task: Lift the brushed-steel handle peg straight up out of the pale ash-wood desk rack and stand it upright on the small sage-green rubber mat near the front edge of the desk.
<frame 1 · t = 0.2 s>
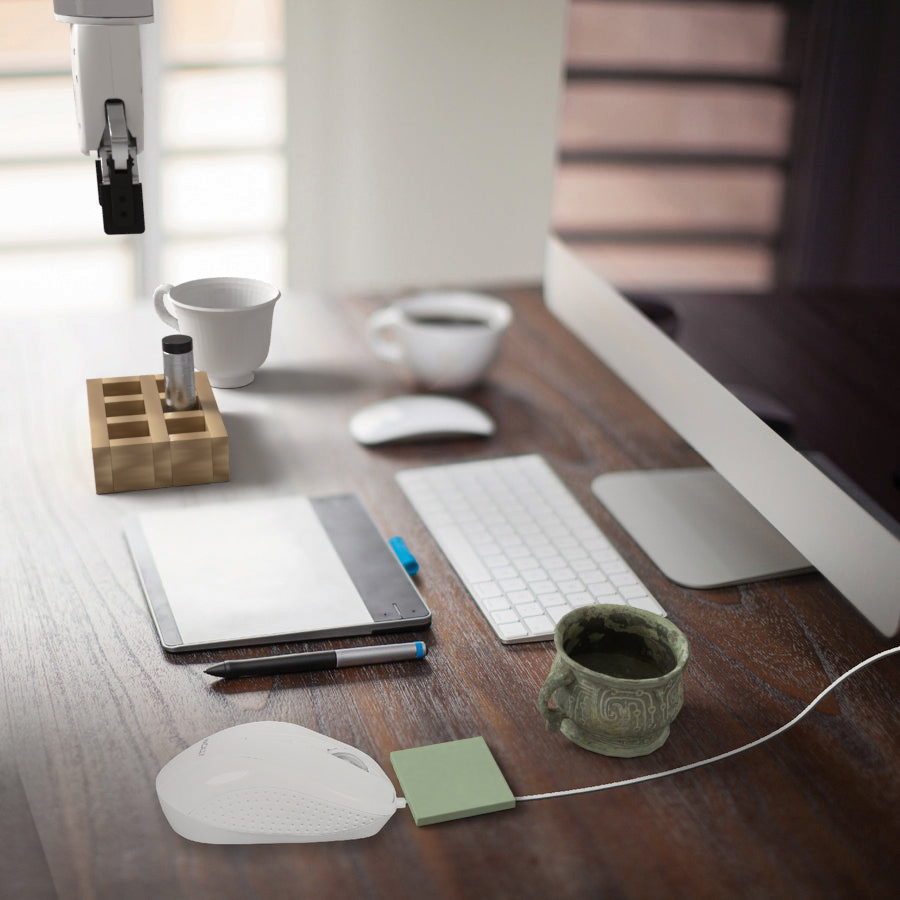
hand: (121, 219, 96), 23 cm above the table, tool pointing down, fingers open, 9 cm apart
steel peg: (183, 447, 110), resting in desk rack
desk rack: (156, 449, 109), on the table
teacup: (216, 378, 127), on the table
vessel: (611, 722, 75), on the table
mat: (451, 783, 68), on the table
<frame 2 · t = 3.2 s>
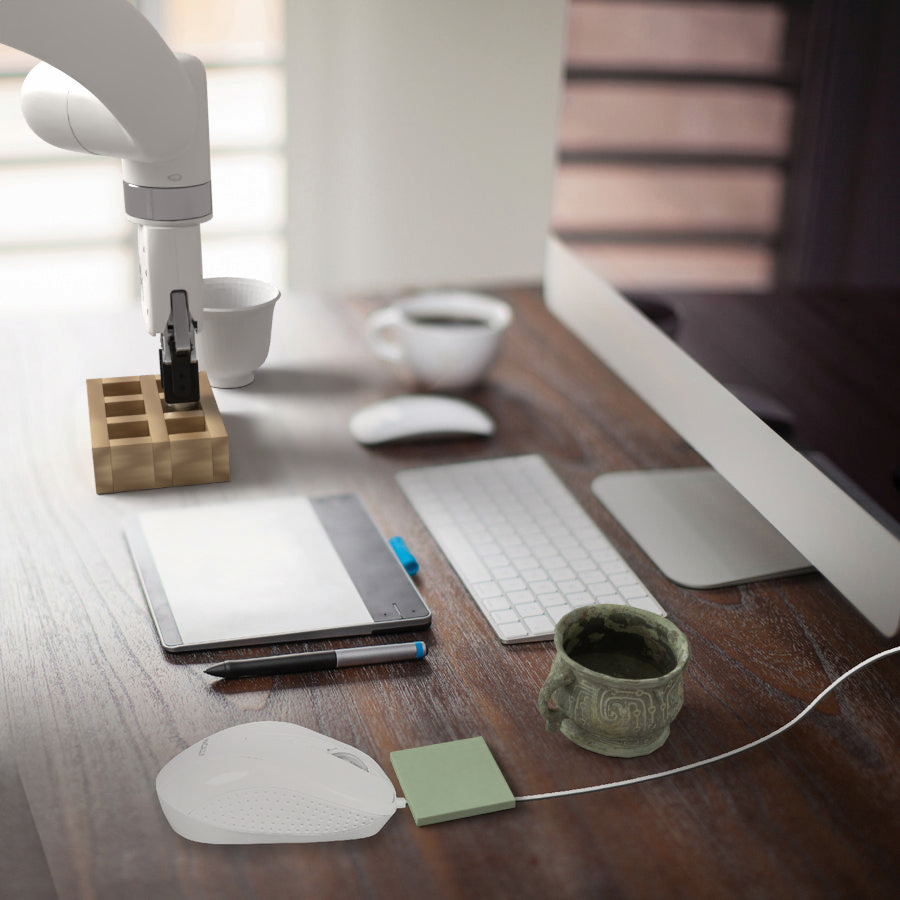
hand: (180, 393, 108), 6 cm above the table, tool pointing down, fingers closed on steel peg, 2 cm apart
steel peg: (183, 447, 110), resting in desk rack, touching gripper
everything else where it was.
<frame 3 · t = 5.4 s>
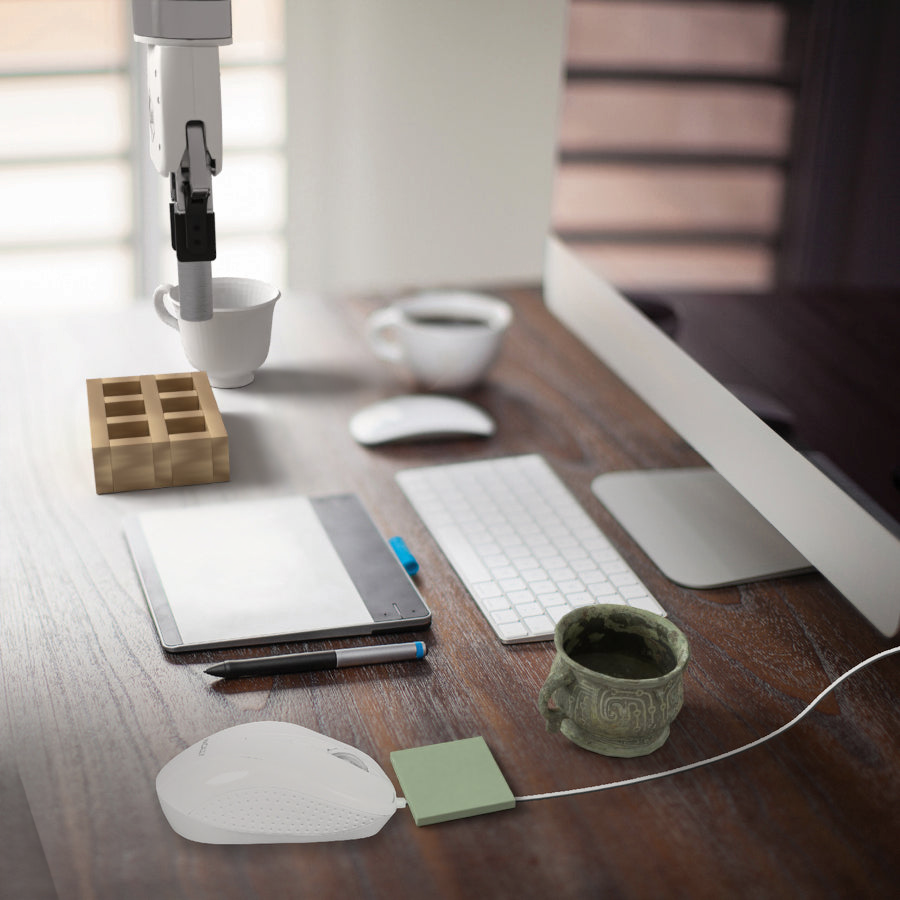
hand: (193, 253, 96), 21 cm above the table, tool pointing down, fingers closed on steel peg, 2 cm apart
steel peg: (196, 317, 98), point 15 cm above the table, touching gripper
everything else where it was.
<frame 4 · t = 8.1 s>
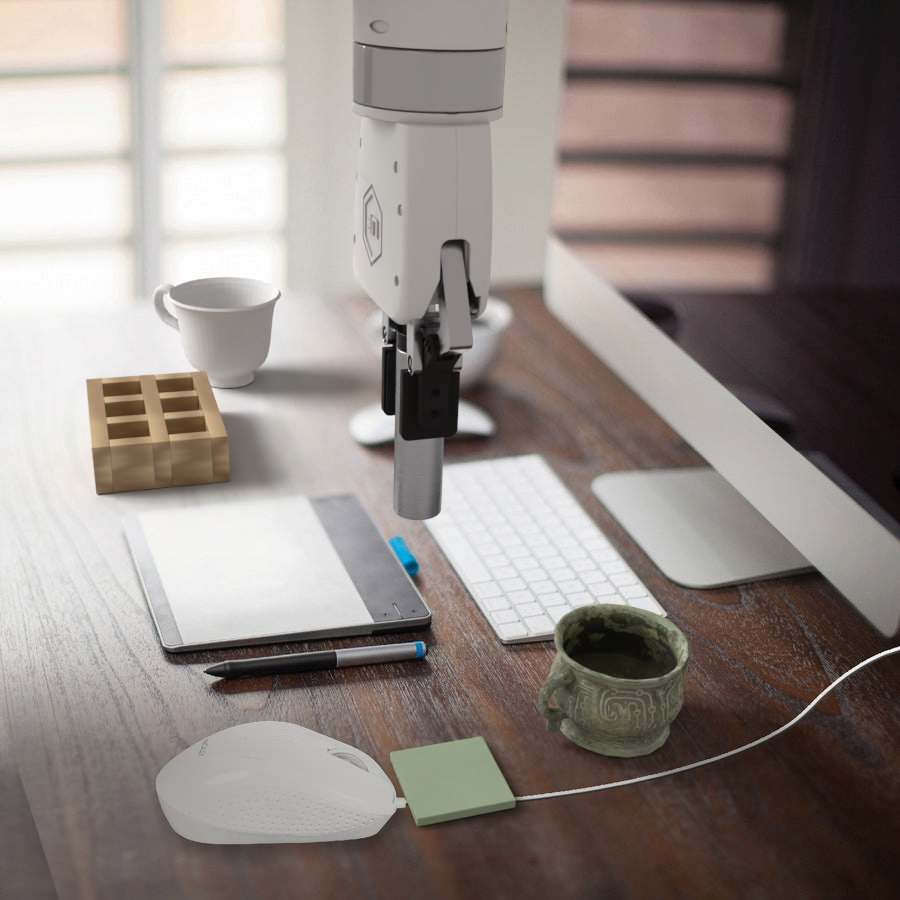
hand: (418, 421, 64), 21 cm above the table, tool pointing down, fingers closed on steel peg, 2 cm apart
steel peg: (417, 509, 66), point 16 cm above the table, touching gripper
everything else where it was.
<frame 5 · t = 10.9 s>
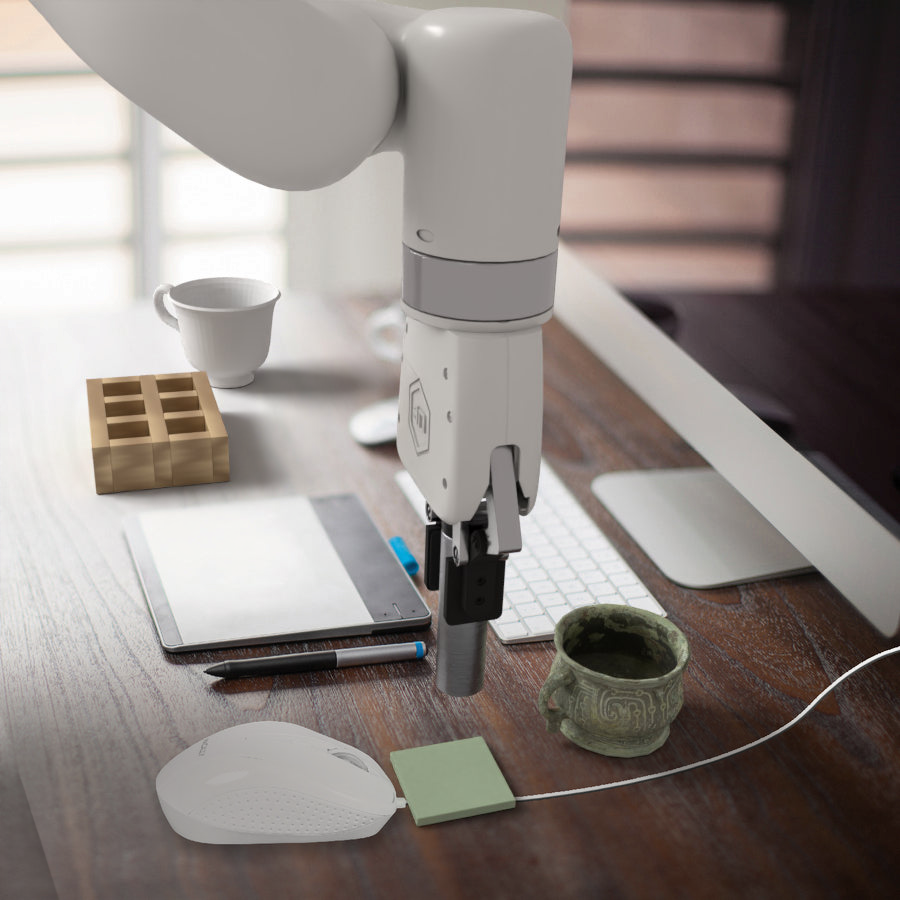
hand: (462, 599, 63), 13 cm above the table, tool pointing down, fingers closed on steel peg, 2 cm apart
steel peg: (459, 682, 65), point 7 cm above the table, touching gripper
everything else where it was.
when the fingers open (6 cm above the table, at t = 13.0 s): steel peg stays where it is, resting on mat.
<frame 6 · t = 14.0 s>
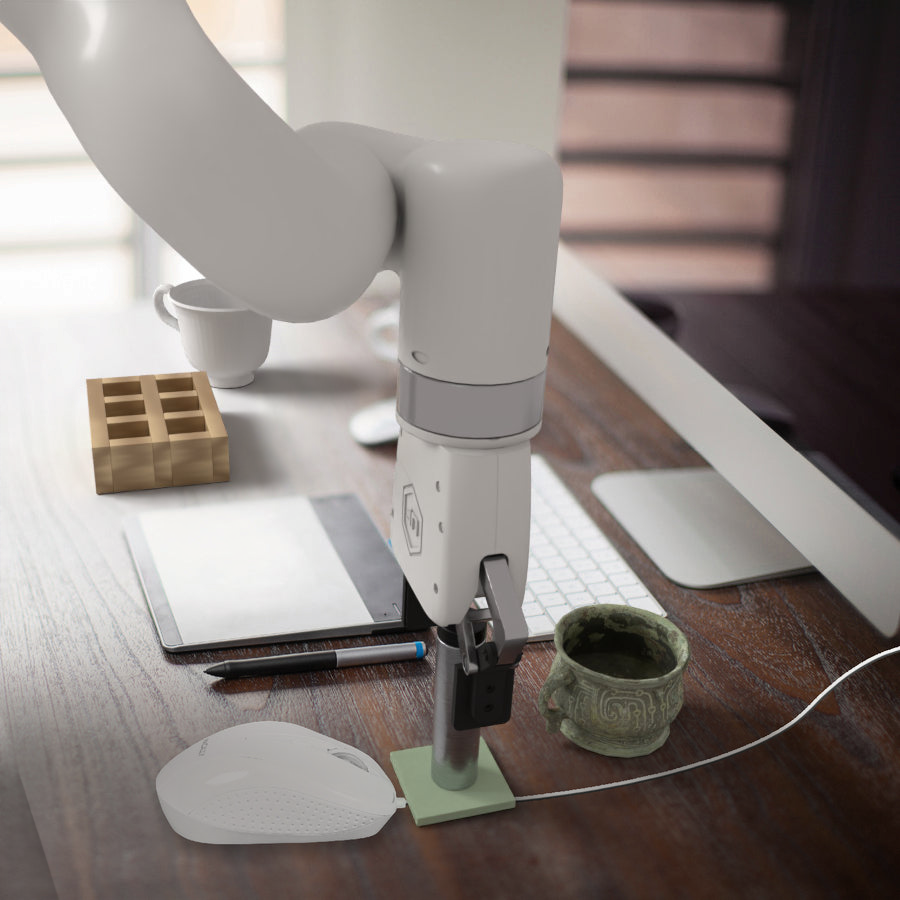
hand: (452, 671, 65), 8 cm above the table, tool pointing down, fingers open, 9 cm apart
steel peg: (453, 774, 68), point 1 cm above the table, touching mat
everything else where it was.
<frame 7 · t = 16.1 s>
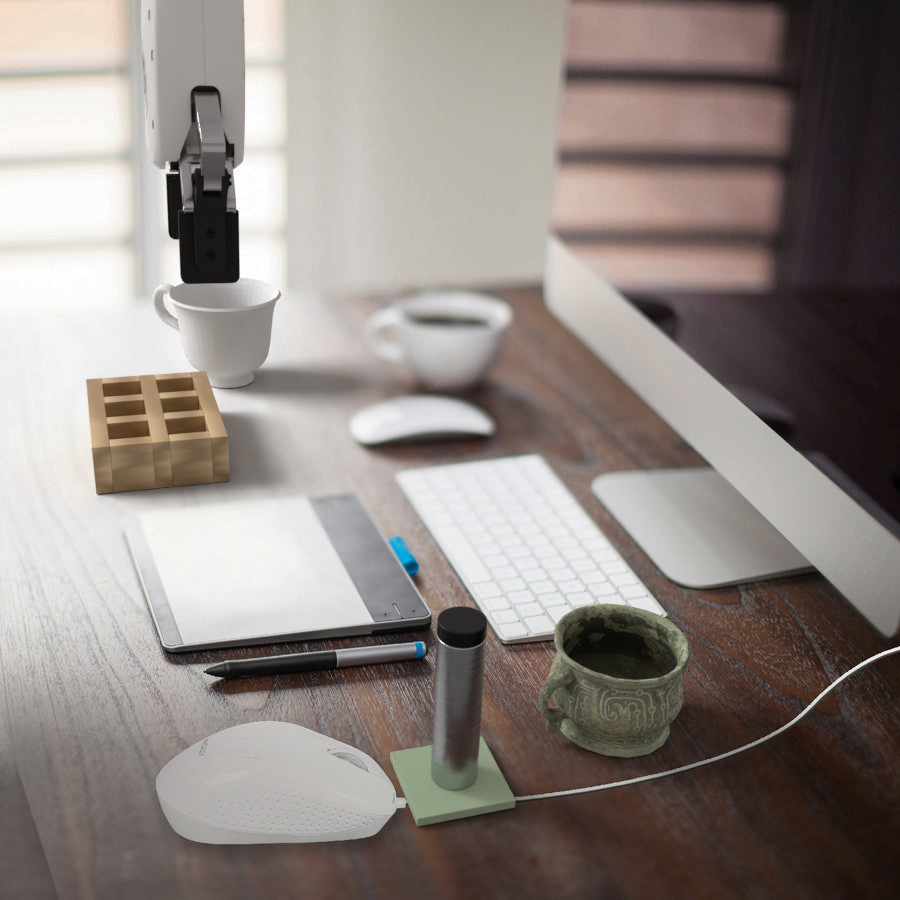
hand: (202, 258, 68), 28 cm above the table, tool pointing down, fingers open, 9 cm apart
nothing on the table moved.
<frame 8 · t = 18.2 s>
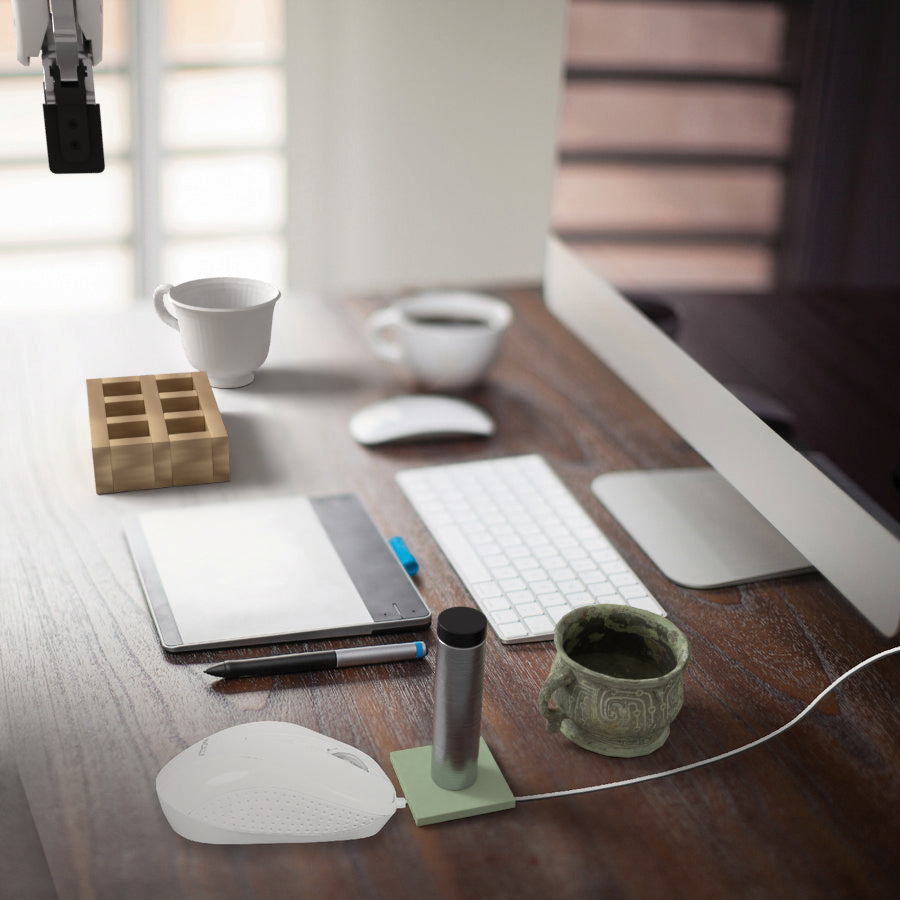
hand: (75, 157, 73), 32 cm above the table, tool pointing down, fingers open, 9 cm apart
nothing on the table moved.
at the end: steel peg 0.1 cm off-centre on the mat, point 0.6 cm above the mat's base; steel peg tilted 0°; the gripper is holding nothing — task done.
